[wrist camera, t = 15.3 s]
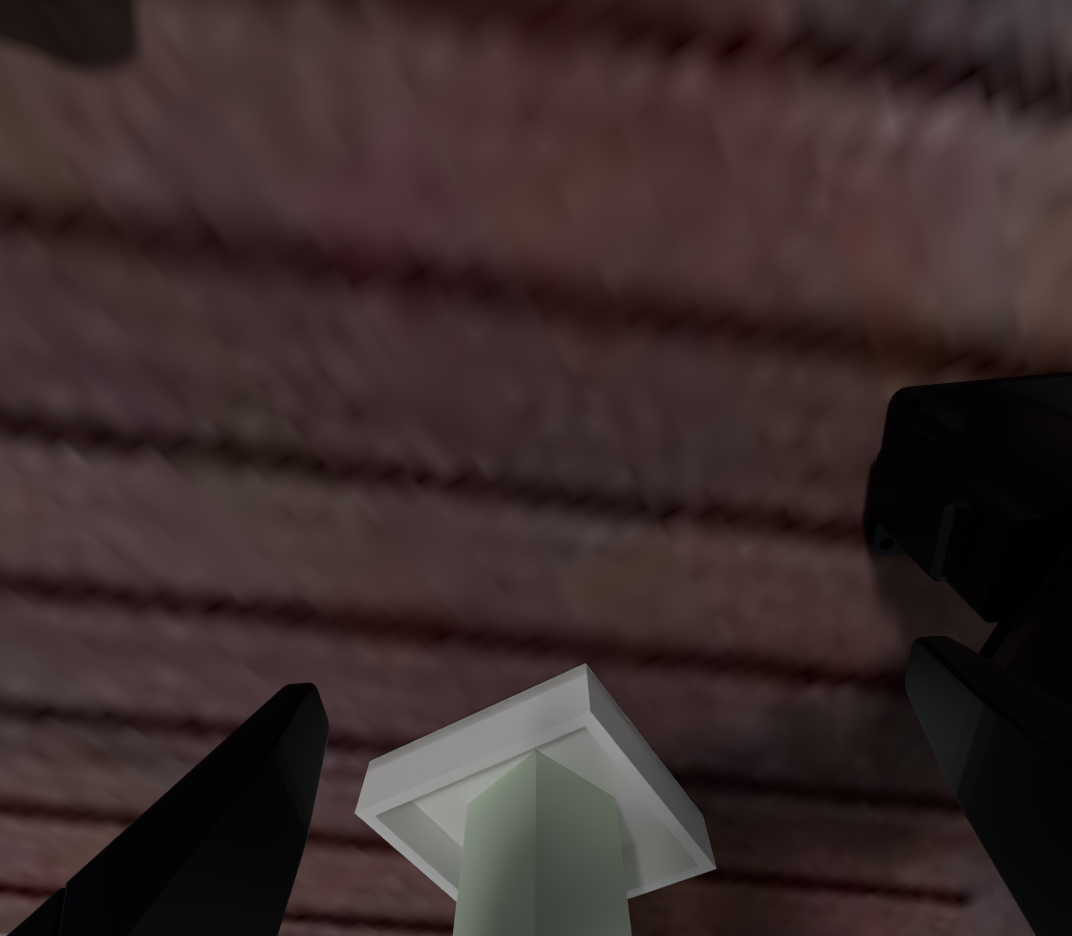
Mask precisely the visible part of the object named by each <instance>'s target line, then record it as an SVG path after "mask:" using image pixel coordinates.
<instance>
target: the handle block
mask: <svg viewBox="0 0 1072 936" xmlns="http://www.w3.org/2000/svg"><path fill="white" fill-rule="evenodd" d="M453 936H632V933H631V925H630V917H629V908H628V900H627V891H626V883H625V875H624V866H623V858H622V849H621V841H620V833H619V824H618V816H617V807H616V799H615V797H613V796H612V795H610V794H608V793H607V792H605V791H604V790H602V789H600V788H599V787H597V786H595V785H594V784H592V783H590V782H589V781H587V780H586V779H584V778H582V777H581V776H579V775H577V774H576V773H574V772H572V771H571V770H569V769H568V768H566V767H564V766H563V765H561V764H559V763H558V762H556V761H554V760H553V759H551V758H550V757H548V756H546V755H545V754H543V753H541V752H540V751H538V750H537V749H536V750H535V751H534V752H532V753H531V754H530V755H529V756H527V757H526V758H525V759H524V760H522V761H521V762H520V763H519V764H517V765H516V766H515V767H513V768H512V769H511V770H510V771H508V772H507V773H506V774H505V775H503V776H502V777H501V778H500V779H498V780H497V781H496V782H495V783H493V784H492V785H491V786H489V787H488V788H487V789H486V790H484V791H483V792H482V793H481V794H479V795H478V796H477V797H476V798H474V799H473V800H472V801H470V802H469V803H468V808H467V816H466V825H465V834H464V843H463V852H462V860H461V869H460V878H459V887H458V896H457V904H456V913H455V922H454V931H453Z"/></svg>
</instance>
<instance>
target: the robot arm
mask: <svg viewBox="0 0 1072 936" xmlns="http://www.w3.org/2000/svg"><path fill="white" fill-rule="evenodd" d="M910 398H913V402H912V404H911V405H910V406H908V407H906V408H904V404H905V402H906V401H907V400H908V399H910ZM869 513H870V515H871V516H872V518H871V524H870V530H869V537H868V543H869V545H870V546H871V547H872V548H873V550H874V551H875V552H876V553H878V554H881V555H889V554H902V553H907V554H908V555H909V556H910V557H911V558H912V559H913V560H914V561H915V562H916V563H917V564H918V565H919V566H920V567H921V568H922V569H923V570H924V572H925V573H926V574H927V575H929V576H930V577H931V578H932V579H933V580H935V581H946V582H947V583H948V584H949V585H950V586H951V587H952V588H953V589H954V590H955V591H956V592H957V593H958V594H959V595H960V596H961V597H962V598H963V599H964V600H965V601H966V602H967V603H968V604H969V605H970V606H971V607H972V608H973V609H974V610H975V611H976V613H977V614H978V615H979V616H980V617H981V618H982V619H983V620H985V621H986V622H991V623H992V622H999V623H998V624H997V626H996V627H995V629H994V631H993V632H992V634H991V635H990V637H989V638H988V640H987V641H986V643H985V644H984V646H983V647H982V649H981V650H980V652H979V654H978V653H976V652H975V651H973V650H971V649H969V648H967V647H966V646H964V645H962V644H960V643H959V642H957V641H955V640H953V639H951V638H949V637H946V636H932V637H920V638H917V639H916V640H915V641H914V642H913V644H912V647H911V652H910V656H909V661H908V666H907V670H906V675H905V688H906V692H907V695H908V697H909V700H910V702H911V704H912V706H913V708H914V711H915V713H916V715H917V717H918V719H919V721H920V724H921V726H922V728H923V730H924V732H925V734H926V737H927V739H928V741H929V743H930V745H931V747H932V750H933V752H934V754H935V756H936V758H937V760H938V763H939V765H940V767H941V769H942V771H943V773H944V776H945V778H946V780H947V782H948V784H949V786H950V788H951V790H952V792H953V794H954V796H955V798H956V800H957V802H958V803H959V805H960V807H961V809H962V811H963V812H964V814H965V816H966V818H967V819H968V821H969V823H970V824H971V826H972V828H973V829H974V831H975V833H976V835H977V836H978V838H979V840H980V841H981V843H982V845H983V847H984V848H985V850H986V852H987V853H988V855H989V857H990V858H991V860H992V862H993V864H994V865H995V867H996V869H997V870H998V872H999V874H1000V875H1001V877H1002V879H1003V881H1004V882H1005V884H1006V886H1007V887H1008V889H1009V891H1010V893H1011V894H1012V896H1013V898H1014V899H1015V901H1016V903H1017V904H1018V906H1019V908H1020V910H1021V911H1022V913H1023V915H1024V916H1025V918H1026V920H1027V921H1028V923H1029V925H1030V927H1031V928H1032V930H1033V932H1034V933H1035V935H1036V936H1072V372H1062V373H1052V374H1041V375H1030V376H1019V377H1008V378H998V379H987V380H976V381H965V382H954V383H944V384H933V385H922V386H911V387H905V388H902V389H900V390H899V391H897V392H896V393H895V394H894V395H893V396H892V399H891V401H890V407H889V413H888V419H887V425H886V431H885V437H884V444H883V448H882V449H881V451H880V452H879V453H878V456H877V463H876V469H875V475H874V482H873V488H872V494H871V501H870V507H869ZM886 538H888V540H887V541H886V542H884V543H881V541H882V540H884V539H886ZM880 543H881V544H880ZM328 735H329V722H328V718H327V715H326V712H325V709H324V706H323V703H322V701H321V698H320V695H319V692H318V689H317V687H316V686H315V685H314V684H313V683H296V684H288V685H286V686H284V687H283V688H282V689H281V690H279V691H278V692H277V693H276V694H275V695H274V696H273V697H272V698H271V699H269V700H268V701H267V702H266V703H265V704H264V705H263V706H262V707H261V708H259V709H258V710H257V711H256V712H255V713H254V714H253V715H252V716H251V717H249V718H248V719H247V720H246V721H245V722H244V723H243V724H242V725H241V726H240V727H238V728H237V729H236V730H235V731H234V732H233V733H232V734H231V735H230V736H228V737H227V738H226V739H225V740H224V741H223V742H222V743H221V744H220V745H218V746H217V747H216V748H215V749H214V750H213V751H212V752H211V753H210V754H208V755H207V756H206V757H205V758H204V759H203V760H202V761H201V762H200V763H199V764H197V765H196V766H195V767H194V768H193V769H192V770H191V771H190V772H189V773H187V774H186V775H185V776H184V777H183V778H182V779H181V780H180V781H179V782H177V783H176V784H175V785H174V786H173V787H172V788H171V789H170V790H169V791H168V792H166V793H165V794H164V795H163V796H162V797H161V798H160V799H159V800H158V801H156V802H155V803H154V804H153V805H152V806H151V807H150V808H149V809H148V810H146V811H145V812H144V813H143V814H142V815H141V816H140V817H139V818H138V819H136V820H135V821H134V822H133V823H132V824H131V825H130V826H129V827H128V828H127V829H125V830H124V831H123V832H122V833H121V834H120V835H119V836H118V837H117V838H115V839H114V840H113V841H112V842H111V843H110V844H109V845H108V846H107V847H105V848H104V849H103V850H102V851H101V852H100V853H99V854H98V855H97V856H96V857H94V858H93V859H92V860H91V861H90V862H89V863H88V864H87V865H86V866H84V867H83V868H82V869H81V870H80V871H79V872H78V873H77V874H76V875H74V876H73V877H72V878H71V879H70V880H69V881H68V882H67V883H66V886H65V888H60V889H59V890H58V891H56V892H55V893H54V894H53V895H52V896H51V897H50V898H49V899H48V900H46V901H45V902H44V903H43V904H42V905H41V906H40V907H39V908H38V909H37V910H35V911H34V912H33V913H32V914H31V915H30V916H29V917H28V918H26V919H25V920H24V921H23V922H22V923H21V924H20V925H18V926H17V927H16V928H15V929H14V930H13V931H12V932H10V933H9V934H8V935H7V936H278V933H279V930H280V926H281V923H282V920H283V917H284V913H285V910H286V907H287V904H288V900H289V897H290V894H291V891H292V888H293V884H294V881H295V878H296V875H297V871H298V868H299V865H300V862H301V858H302V855H303V852H304V848H305V845H306V841H307V838H308V833H309V829H310V825H311V820H312V815H313V810H314V805H315V800H316V795H317V791H318V786H319V781H320V776H321V771H322V766H323V761H324V756H325V751H326V746H327V741H328Z"/></svg>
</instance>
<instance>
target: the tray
mask: <svg viewBox="0 0 1072 936" xmlns="http://www.w3.org/2000/svg"><path fill="white" fill-rule="evenodd" d="M536 749H537V750H538V751H540V752H541V753H543V754H545V755H546V756H548V757H550V758H551V759H553V760H554V761H556V762H558V763H559V764H561V765H563V766H564V767H566V768H568V769H569V770H571V771H572V772H574V773H576V774H577V775H579V776H581V777H582V778H584V779H586V780H587V781H589V782H590V783H592V784H594V785H595V786H597V787H599V788H600V789H602V790H604V791H605V792H607V793H608V794H610V795H612V796H613V797H615V799H616V807H617V816H618V824H619V833H620V841H621V849H622V858H623V866H624V875H625V883H626V891H627V899H630V898H633V897H635V896H638V895H641V894H644V893H647V892H650V891H653V890H656V889H659V888H662V887H665V886H668V885H670V884H673V883H676V882H679V881H682V880H685V879H688V878H691V877H694V876H697V875H700V874H702V873H705V872H708V871H711V870H714V869H716V865H715V861H714V857H713V853H712V849H711V845H710V841H709V837H708V833H707V829H706V825H705V821H704V817H703V814H702V813H701V812H700V811H699V809H698V808H697V807H696V805H695V804H694V803H693V801H692V800H691V799H690V798H689V796H688V795H687V794H686V792H685V791H684V790H683V788H682V787H681V786H680V785H679V783H678V782H677V781H676V779H675V778H674V777H673V775H672V774H671V773H670V772H669V770H668V769H667V768H666V766H665V765H664V764H663V762H662V761H661V760H660V759H659V757H658V756H657V755H656V753H655V752H654V751H653V750H652V748H651V747H650V746H649V744H648V743H647V742H646V740H645V739H644V738H643V737H642V735H641V734H640V733H639V731H638V730H637V729H636V727H635V726H634V725H633V724H632V722H631V721H630V720H629V718H628V717H627V716H626V714H625V713H624V712H623V711H622V709H621V708H620V707H619V705H618V704H617V703H616V701H615V700H614V699H613V698H612V696H611V695H610V694H609V692H608V691H607V690H606V688H605V687H604V686H603V685H602V683H601V682H600V681H599V679H598V678H597V677H596V675H595V674H594V673H593V672H592V670H591V669H590V668H589V666H588V665H587V664H586V663H585V664H582V665H580V666H578V667H576V668H574V669H571V670H569V671H567V672H565V673H563V674H560V675H558V676H556V677H554V678H552V679H549V680H547V681H545V682H543V683H541V684H538V685H536V686H534V687H532V688H530V689H528V690H525V691H523V692H521V693H519V694H517V695H514V696H512V697H510V698H508V699H506V700H503V701H501V702H499V703H497V704H495V705H492V706H490V707H488V708H486V709H484V710H481V711H479V712H477V713H475V714H473V715H470V716H468V717H466V718H464V719H462V720H459V721H457V722H455V723H453V724H451V725H448V726H446V727H444V728H442V729H440V730H437V731H435V732H433V733H431V734H429V735H426V736H424V737H422V738H420V739H418V740H415V741H413V742H411V743H409V744H407V745H404V746H402V747H400V748H398V749H396V750H393V751H391V752H389V753H387V754H385V755H382V756H380V757H378V758H376V759H374V760H371V761H370V762H369V766H368V769H367V773H366V776H365V780H364V783H363V787H362V790H361V794H360V797H359V801H358V804H357V808H356V811H355V814H356V815H358V816H359V817H360V818H361V819H362V820H363V821H365V822H366V823H367V824H368V825H369V826H370V827H371V828H373V829H374V830H375V831H376V832H377V833H378V834H379V835H381V836H382V837H383V838H384V839H385V840H386V841H387V842H389V843H390V844H391V845H392V846H393V847H394V848H396V849H397V850H398V851H399V852H400V853H401V854H402V855H404V856H405V857H406V858H407V859H408V860H409V861H410V862H412V863H413V864H414V865H415V866H416V867H417V868H419V869H420V870H421V871H422V872H423V873H424V874H425V875H427V876H428V877H429V878H430V879H431V880H432V881H433V882H435V883H436V884H437V885H438V886H439V887H440V888H441V889H443V890H444V891H445V892H446V893H447V894H448V895H450V896H451V897H452V898H453V899H454V900H455V901H456V902H457V896H458V887H459V878H460V869H461V860H462V852H463V843H464V834H465V825H466V816H467V808H468V803H469V802H470V801H472V800H473V799H474V798H476V797H477V796H478V795H479V794H481V793H482V792H483V791H484V790H486V789H487V788H488V787H489V786H491V785H492V784H493V783H495V782H496V781H497V780H498V779H500V778H501V777H502V776H503V775H505V774H506V773H507V772H508V771H510V770H511V769H512V768H513V767H515V766H516V765H517V764H519V763H520V762H521V761H522V760H524V759H525V758H526V757H527V756H529V755H530V754H531V753H532V752H534V751H535V750H536Z"/></svg>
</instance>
